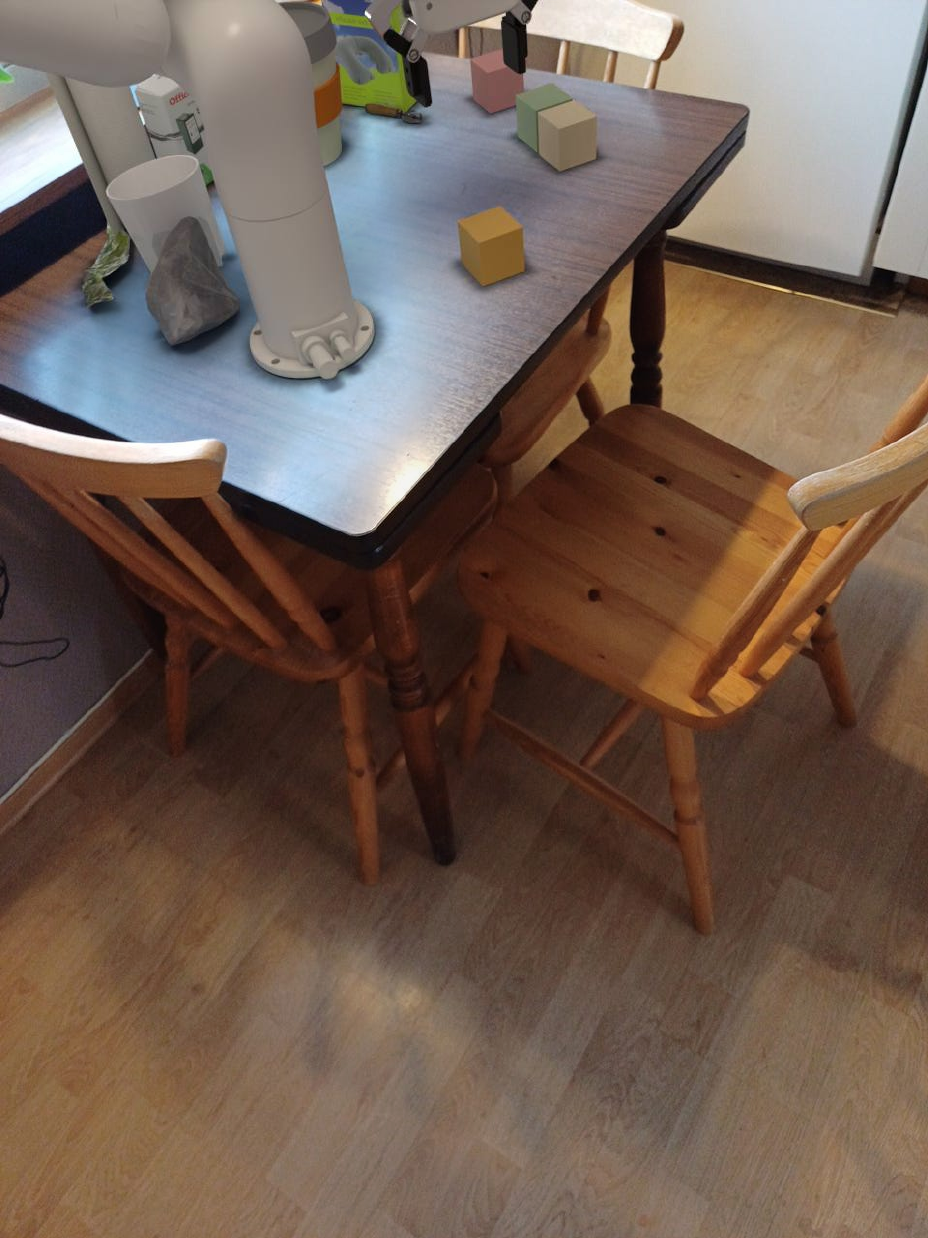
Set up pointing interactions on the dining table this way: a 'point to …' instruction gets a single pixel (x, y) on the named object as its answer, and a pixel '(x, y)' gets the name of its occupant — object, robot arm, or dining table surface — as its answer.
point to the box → (367, 57)
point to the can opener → (393, 112)
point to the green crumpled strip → (105, 267)
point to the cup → (163, 204)
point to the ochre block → (491, 245)
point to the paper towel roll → (103, 134)
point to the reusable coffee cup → (321, 72)
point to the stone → (188, 285)
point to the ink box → (173, 121)
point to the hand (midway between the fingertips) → (469, 84)
